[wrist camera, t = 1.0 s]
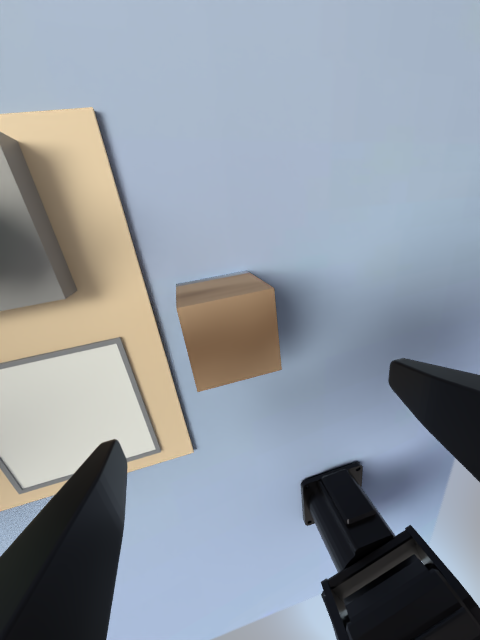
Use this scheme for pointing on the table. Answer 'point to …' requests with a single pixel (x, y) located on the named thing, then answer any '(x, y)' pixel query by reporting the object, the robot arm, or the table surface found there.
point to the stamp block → (229, 328)
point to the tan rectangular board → (81, 328)
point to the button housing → (27, 238)
